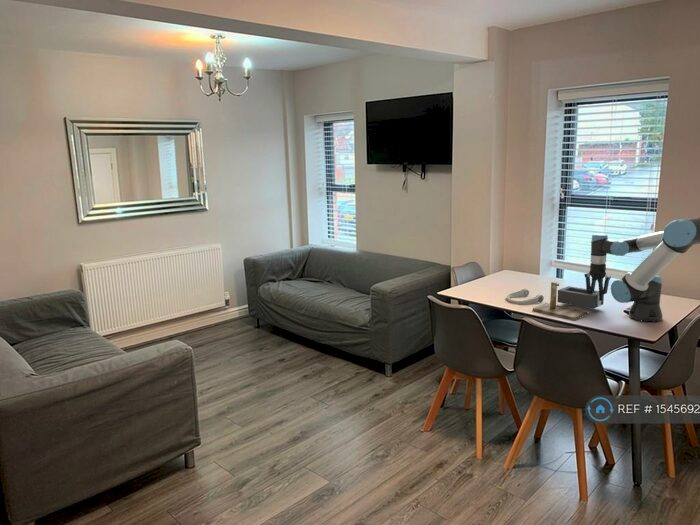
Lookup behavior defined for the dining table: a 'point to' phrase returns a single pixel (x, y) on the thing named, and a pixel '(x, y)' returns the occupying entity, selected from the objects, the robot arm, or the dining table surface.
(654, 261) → the robot arm
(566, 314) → the hook board
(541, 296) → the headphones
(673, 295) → the dining table surface
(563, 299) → the grey storage bin
